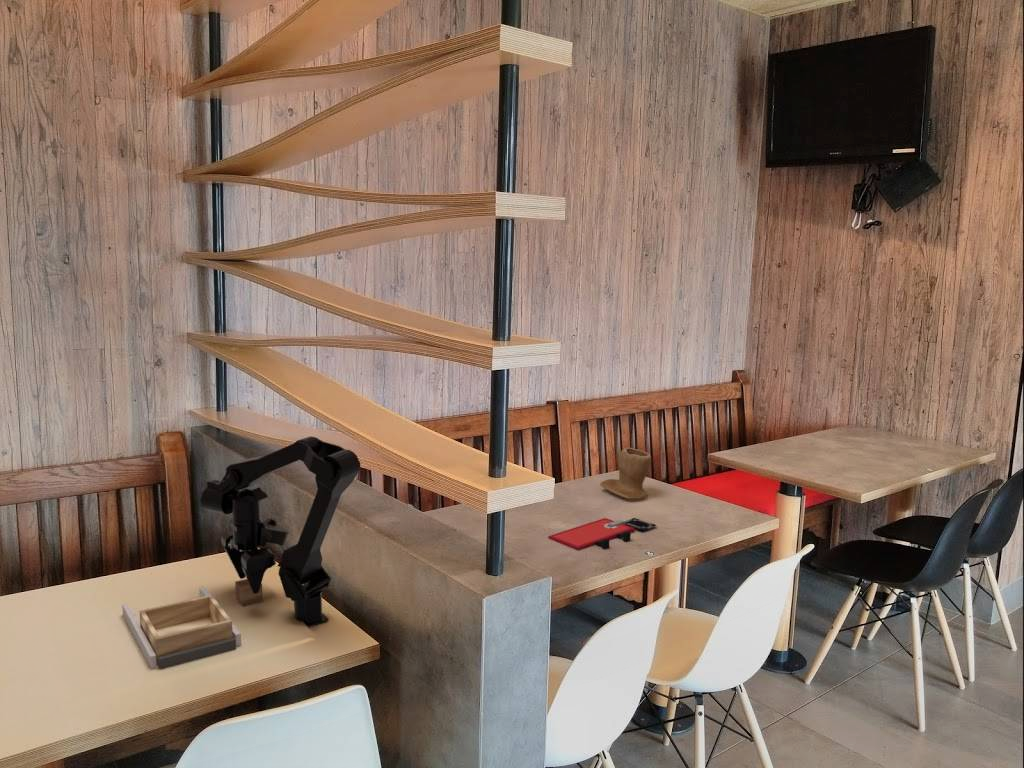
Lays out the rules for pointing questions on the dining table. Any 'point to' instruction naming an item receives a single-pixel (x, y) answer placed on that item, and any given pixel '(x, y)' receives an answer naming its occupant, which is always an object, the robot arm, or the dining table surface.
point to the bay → (183, 655)
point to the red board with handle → (599, 533)
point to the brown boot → (630, 474)
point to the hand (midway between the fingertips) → (249, 585)
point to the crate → (185, 625)
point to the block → (247, 593)
